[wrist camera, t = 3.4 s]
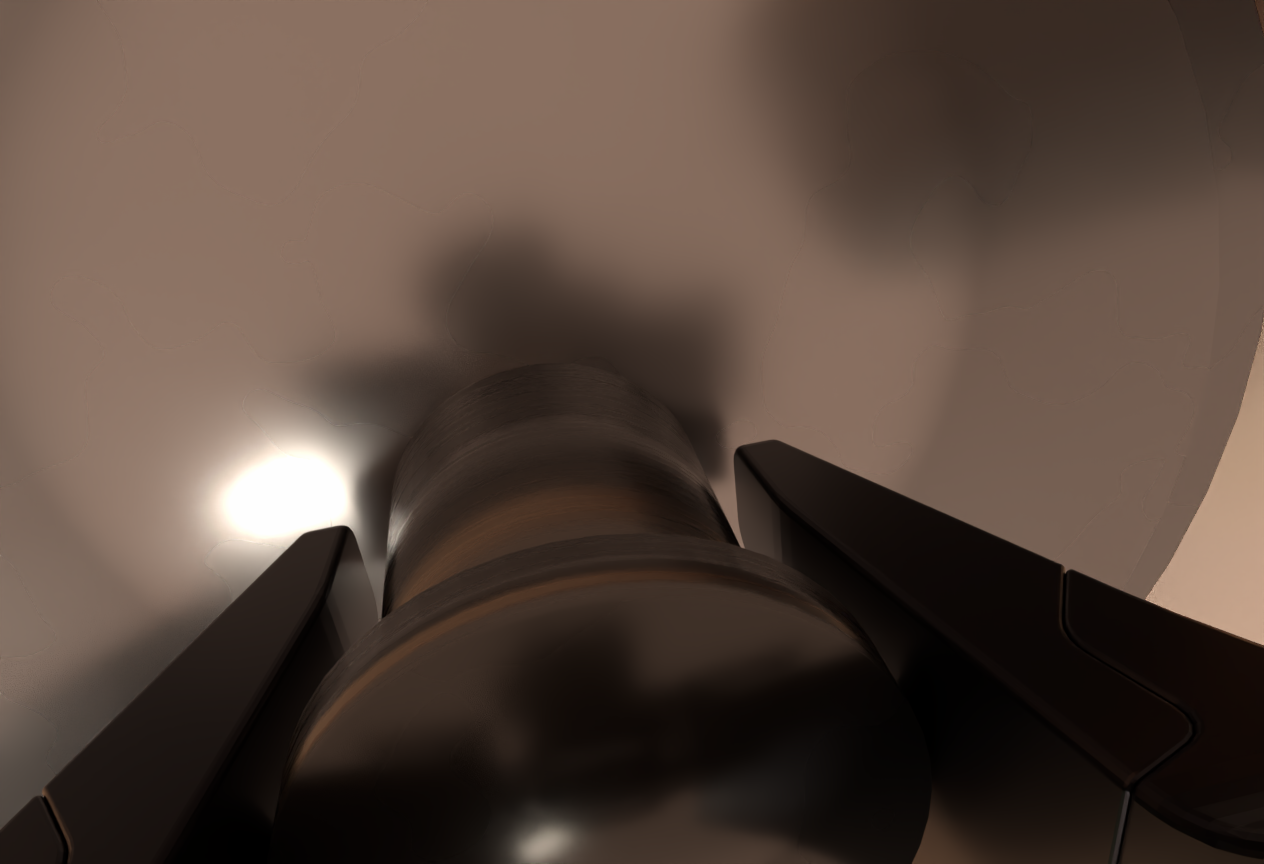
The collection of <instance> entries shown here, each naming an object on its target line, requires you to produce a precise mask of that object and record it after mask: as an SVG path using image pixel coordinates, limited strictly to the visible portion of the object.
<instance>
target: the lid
mask: <svg viewBox="0 0 1264 864" xmlns="http://www.w3.org/2000/svg"><path fill="white" fill-rule="evenodd" d="M1263 316H1264V35H1263V31H1262V28H1261V24H1260V20H1259V16H1258V12H1257V8H1256V4H1255V1H1254V0H0V829H1V828H2V827H3V826H4V825H5V824H6V823H7V822H8V821H9V820H10V819H11V818H12V817H13V816H14V815H15V814H16V813H17V812H18V811H19V810H21V809H22V808H23V807H24V806H25V805H26V804H27V803H28V802H29V801H30V800H31V799H32V798H33V797H34V796H37V795H40V796H43V794H42V790H43V788H44V786H45V785H46V784H47V783H48V782H49V781H50V780H51V779H52V778H53V777H54V776H55V775H57V774H58V773H59V772H60V771H61V770H62V769H63V768H64V767H65V766H66V765H67V764H68V763H69V762H70V761H71V760H72V759H73V758H74V757H75V756H76V755H77V754H78V753H79V752H80V751H81V750H82V749H83V748H84V747H85V746H86V745H87V744H88V743H89V742H90V741H91V740H92V739H93V738H94V737H95V736H96V735H97V734H98V733H99V732H100V731H101V730H103V729H104V728H105V727H106V726H107V725H108V724H109V723H110V722H111V721H112V720H113V719H114V718H115V717H116V716H117V715H118V714H119V713H120V712H121V711H122V710H123V709H124V708H125V707H126V706H127V705H128V704H129V703H130V702H131V701H132V700H133V699H134V698H135V697H136V696H137V695H138V694H139V693H140V692H141V691H142V690H143V689H144V688H145V687H146V686H147V685H149V684H150V683H151V682H152V681H153V680H154V679H155V678H156V677H157V676H158V675H159V674H160V673H161V672H162V671H163V670H164V669H165V668H166V667H167V666H168V665H169V664H170V663H171V662H172V661H173V660H174V659H175V658H176V657H177V656H178V655H179V654H180V653H181V652H182V651H183V650H184V649H185V648H186V647H187V646H188V645H189V644H190V643H191V642H192V641H193V640H194V639H195V638H196V637H197V636H199V635H200V634H201V633H202V632H203V631H204V630H205V629H206V628H207V627H208V626H209V625H210V624H211V623H212V622H213V621H214V620H215V619H216V618H217V617H218V616H219V615H220V614H221V613H222V612H223V611H224V610H225V609H226V608H227V607H228V606H229V605H230V604H231V603H232V602H233V601H234V600H235V599H236V598H237V597H238V596H239V595H240V594H241V593H242V592H243V591H244V590H245V589H246V588H247V587H249V586H250V585H251V584H252V583H253V582H254V581H255V580H256V579H257V578H258V577H259V576H260V575H261V574H262V573H263V572H264V571H265V570H266V569H267V568H268V567H269V566H270V565H271V564H272V563H273V562H274V561H275V560H276V559H277V558H278V557H279V556H280V555H281V554H282V553H283V552H284V551H285V550H286V549H287V548H288V547H289V546H290V545H291V544H292V543H293V542H294V541H295V540H296V539H297V538H299V537H300V536H301V535H302V534H303V533H305V532H308V531H312V530H318V529H323V528H328V527H333V526H338V525H346V526H348V527H349V528H350V529H351V530H352V531H353V533H354V535H355V537H356V540H357V543H358V546H359V549H360V552H361V555H362V558H363V561H364V565H365V568H366V571H367V574H368V577H369V580H370V583H371V586H372V589H373V592H374V596H375V600H376V605H377V611H378V621H379V622H378V623H377V624H376V625H374V626H373V627H372V628H371V629H370V630H369V631H368V632H366V633H365V634H364V635H363V636H362V637H361V638H360V639H358V640H357V641H356V642H355V643H354V644H353V645H352V646H351V647H350V648H349V649H348V650H347V651H346V652H345V653H344V655H343V656H342V657H341V658H340V659H339V660H338V662H337V663H336V664H335V665H334V666H333V667H332V668H331V670H330V671H329V672H328V673H327V674H326V675H325V676H324V678H323V680H322V681H321V683H320V684H319V686H318V687H317V689H316V691H315V692H314V694H313V695H312V697H311V698H310V700H309V701H308V703H307V705H306V706H305V708H304V710H303V712H302V714H301V717H300V719H299V721H298V724H297V726H296V728H295V731H294V733H293V735H292V738H291V740H290V744H289V748H288V752H287V756H286V761H285V765H284V769H283V774H282V779H281V785H280V790H279V795H278V801H277V806H276V812H275V817H274V823H273V828H272V834H271V839H270V845H269V850H268V855H267V864H912V862H913V860H914V858H915V856H916V853H917V851H918V849H919V847H920V844H921V841H922V838H923V834H924V831H925V828H926V824H927V821H928V818H929V810H930V802H931V794H932V778H931V760H930V756H929V752H928V749H927V745H926V741H925V737H924V733H923V731H922V728H921V726H920V724H919V722H918V720H917V718H916V716H915V714H914V712H913V710H912V708H911V705H910V704H909V702H908V700H907V699H906V697H905V695H904V694H903V692H902V690H901V689H900V687H899V685H898V684H897V682H896V681H895V679H894V677H893V676H892V674H891V672H890V671H889V669H888V667H887V666H886V664H885V662H884V661H883V659H882V657H881V656H880V654H879V652H878V651H877V649H876V647H875V646H874V644H873V642H872V641H871V639H870V637H869V636H868V635H867V633H866V632H865V631H864V629H863V628H862V626H861V625H860V624H859V622H858V621H857V620H856V618H855V617H854V616H853V614H852V613H851V612H850V611H849V610H848V609H847V608H846V607H845V606H844V605H843V604H841V603H840V602H839V601H838V600H837V599H836V598H835V597H834V596H833V595H832V594H831V593H830V592H829V591H827V590H826V589H825V588H823V587H822V586H820V585H819V584H817V583H816V582H814V581H813V580H811V579H810V578H808V577H807V576H806V575H804V574H803V573H801V572H800V571H797V570H795V569H793V568H791V567H789V566H787V565H785V564H783V563H781V562H779V561H777V560H775V559H773V558H771V557H768V556H766V555H763V554H760V553H757V552H754V551H751V550H748V549H745V547H744V544H743V541H742V537H741V533H740V529H739V523H738V513H737V501H736V489H735V476H734V463H733V458H734V453H735V450H736V449H737V448H738V447H739V446H742V445H746V444H751V443H756V442H761V441H766V440H772V439H776V440H779V441H782V442H784V443H786V444H789V445H791V446H793V447H795V448H798V449H800V450H802V451H804V452H807V453H809V454H811V455H814V456H816V457H818V458H820V459H823V460H825V461H827V462H830V463H832V464H834V465H836V466H839V467H841V468H843V469H845V470H848V471H850V472H852V473H855V474H857V475H859V476H861V477H864V478H866V479H868V480H870V481H873V482H875V483H877V484H880V485H882V486H884V487H886V488H889V489H891V490H893V491H896V492H898V493H900V494H902V495H905V496H907V497H909V498H911V499H914V500H916V501H918V502H921V503H923V504H925V505H927V506H930V507H932V508H934V509H936V510H939V511H941V512H943V513H946V514H948V515H950V516H952V517H955V518H957V519H959V520H961V521H964V522H966V523H968V524H971V525H973V526H975V527H977V528H980V529H982V530H984V531H987V532H989V533H991V534H993V535H996V536H998V537H1000V538H1002V539H1005V540H1007V541H1009V542H1012V543H1014V544H1016V545H1018V546H1021V547H1023V548H1025V549H1027V550H1030V551H1032V552H1034V553H1037V554H1039V555H1041V556H1043V557H1046V558H1048V559H1050V560H1053V561H1055V562H1057V563H1059V564H1062V565H1063V566H1064V567H1065V574H1066V571H1068V570H1070V569H1073V570H1076V571H1078V572H1080V573H1083V574H1085V575H1087V576H1090V577H1092V578H1094V579H1096V580H1099V581H1101V582H1103V583H1105V584H1108V585H1110V586H1112V587H1115V588H1117V589H1119V590H1122V591H1124V592H1127V593H1129V594H1131V595H1134V596H1136V597H1139V598H1141V599H1144V600H1145V599H1146V597H1147V596H1148V594H1149V593H1150V591H1151V590H1152V588H1153V587H1154V585H1155V584H1156V582H1157V581H1158V579H1159V578H1160V576H1161V575H1162V573H1163V572H1164V570H1165V569H1166V567H1167V566H1168V564H1169V563H1170V561H1171V559H1172V557H1173V555H1174V553H1175V551H1176V549H1177V548H1178V546H1179V544H1180V542H1181V540H1182V538H1183V536H1184V534H1185V533H1186V531H1187V529H1188V527H1189V525H1190V523H1191V521H1192V519H1193V518H1194V516H1195V514H1196V512H1197V510H1198V508H1199V506H1200V504H1201V503H1202V501H1203V499H1204V497H1205V495H1206V493H1207V491H1208V488H1209V486H1210V483H1211V481H1212V478H1213V476H1214V474H1215V471H1216V469H1217V466H1218V464H1219V461H1220V459H1221V456H1222V454H1223V451H1224V449H1225V446H1226V444H1227V441H1228V439H1229V436H1230V434H1231V431H1232V429H1233V426H1234V424H1235V421H1236V419H1237V416H1238V413H1239V410H1240V406H1241V403H1242V399H1243V395H1244V392H1245V388H1246V384H1247V381H1248V377H1249V373H1250V370H1251V366H1252V363H1253V359H1254V355H1255V352H1256V348H1257V344H1258V341H1259V337H1260V333H1261V329H1262V323H1263ZM43 797H44V796H43Z"/></svg>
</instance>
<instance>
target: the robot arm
mask: <svg viewBox="0 0 1264 864" xmlns="http://www.w3.org/2000/svg"><path fill="white" fill-rule="evenodd" d="M733 463H734V476H735V489H736V501H737V513H738V523H739V529H740V533H741V537H742V541H743V544H744V547H745V549H748V550H751V551H754V552H757V553H760V554H763V555H766V556H768V557H771V558H773V559H775V560H777V561H779V562H781V563H783V564H785V565H787V566H789V567H791V568H793V569H795V570H797V571H800V572H801V573H803V574H804V575H806V576H807V577H808V578H810V579H811V580H813V581H814V582H816V583H817V584H819V585H820V586H822V587H823V588H825V589H826V590H827V591H829V592H830V593H831V594H832V595H833V596H834V597H835V598H836V599H837V600H838V601H839V602H840V603H841V604H843V605H844V606H845V607H846V608H847V609H848V610H849V611H850V612H851V613H852V614H853V616H854V617H855V618H856V620H857V621H858V622H859V624H860V625H861V626H862V628H863V629H864V631H865V632H866V633H867V635H868V636H869V637H870V639H871V641H872V642H873V644H874V646H875V647H876V649H877V651H878V652H879V654H880V656H881V657H882V659H883V661H884V662H885V664H886V666H887V667H888V669H889V671H890V672H891V674H892V676H893V677H894V679H895V681H896V682H897V684H898V685H899V687H900V689H901V690H902V692H903V694H904V695H905V697H906V699H907V700H908V702H909V704H910V705H911V708H912V710H913V712H914V714H915V716H916V718H917V720H918V722H919V724H920V726H921V728H922V731H923V733H924V737H925V741H926V745H927V749H928V752H929V756H930V760H931V778H932V794H931V802H930V810H929V818H928V821H927V824H926V828H925V831H924V834H923V838H922V841H921V844H920V847H919V849H918V851H917V853H916V856H915V858H914V860H913V862H912V864H1264V645H1261V644H1258V643H1255V642H1252V641H1250V640H1247V639H1244V638H1242V637H1239V636H1236V635H1234V634H1231V633H1228V632H1226V631H1223V630H1220V629H1218V628H1215V627H1212V626H1210V625H1207V624H1204V623H1201V622H1199V621H1196V620H1193V619H1191V618H1188V617H1185V616H1183V615H1180V614H1177V613H1175V612H1172V611H1170V610H1168V609H1165V608H1163V607H1160V606H1158V605H1156V604H1153V603H1151V602H1148V601H1146V600H1144V599H1141V598H1139V597H1136V596H1134V595H1131V594H1129V593H1127V592H1124V591H1122V590H1119V589H1117V588H1115V587H1112V586H1110V585H1108V584H1105V583H1103V582H1101V581H1099V580H1096V579H1094V578H1092V577H1090V576H1087V575H1085V574H1083V573H1080V572H1078V571H1076V570H1073V569H1070V570H1068V571H1066V574H1065V567H1064V566H1063V565H1062V564H1059V563H1057V562H1055V561H1053V560H1050V559H1048V558H1046V557H1043V556H1041V555H1039V554H1037V553H1034V552H1032V551H1030V550H1027V549H1025V548H1023V547H1021V546H1018V545H1016V544H1014V543H1012V542H1009V541H1007V540H1005V539H1002V538H1000V537H998V536H996V535H993V534H991V533H989V532H987V531H984V530H982V529H980V528H977V527H975V526H973V525H971V524H968V523H966V522H964V521H961V520H959V519H957V518H955V517H952V516H950V515H948V514H946V513H943V512H941V511H939V510H936V509H934V508H932V507H930V506H927V505H925V504H923V503H921V502H918V501H916V500H914V499H911V498H909V497H907V496H905V495H902V494H900V493H898V492H896V491H893V490H891V489H889V488H886V487H884V486H882V485H880V484H877V483H875V482H873V481H870V480H868V479H866V478H864V477H861V476H859V475H857V474H855V473H852V472H850V471H848V470H845V469H843V468H841V467H839V466H836V465H834V464H832V463H830V462H827V461H825V460H823V459H820V458H818V457H816V456H814V455H811V454H809V453H807V452H804V451H802V450H800V449H798V448H795V447H793V446H791V445H789V444H786V443H784V442H782V441H779V440H776V439H772V440H766V441H761V442H756V443H751V444H746V445H742V446H739V447H738V448H737V449H736V450H735V453H734V458H733ZM378 622H379V621H378V611H377V605H376V600H375V596H374V592H373V589H372V586H371V583H370V580H369V577H368V574H367V571H366V568H365V565H364V561H363V558H362V555H361V552H360V549H359V546H358V543H357V540H356V537H355V535H354V533H353V531H352V530H351V529H350V528H349V527H348V526H346V525H338V526H333V527H328V528H323V529H318V530H312V531H308V532H305V533H303V534H302V535H301V536H300V537H299V538H297V539H296V540H295V541H294V542H293V543H292V544H291V545H290V546H289V547H288V548H287V549H286V550H285V551H284V552H283V553H282V554H281V555H280V556H279V557H278V558H277V559H276V560H275V561H274V562H273V563H272V564H271V565H270V566H269V567H268V568H267V569H266V570H265V571H264V572H263V573H262V574H261V575H260V576H259V577H258V578H257V579H256V580H255V581H254V582H253V583H252V584H251V585H250V586H249V587H247V588H246V589H245V590H244V591H243V592H242V593H241V594H240V595H239V596H238V597H237V598H236V599H235V600H234V601H233V602H232V603H231V604H230V605H229V606H228V607H227V608H226V609H225V610H224V611H223V612H222V613H221V614H220V615H219V616H218V617H217V618H216V619H215V620H214V621H213V622H212V623H211V624H210V625H209V626H208V627H207V628H206V629H205V630H204V631H203V632H202V633H201V634H200V635H199V636H197V637H196V638H195V639H194V640H193V641H192V642H191V643H190V644H189V645H188V646H187V647H186V648H185V649H184V650H183V651H182V652H181V653H180V654H179V655H178V656H177V657H176V658H175V659H174V660H173V661H172V662H171V663H170V664H169V665H168V666H167V667H166V668H165V669H164V670H163V671H162V672H161V673H160V674H159V675H158V676H157V677H156V678H155V679H154V680H153V681H152V682H151V683H150V684H149V685H147V686H146V687H145V688H144V689H143V690H142V691H141V692H140V693H139V694H138V695H137V696H136V697H135V698H134V699H133V700H132V701H131V702H130V703H129V704H128V705H127V706H126V707H125V708H124V709H123V710H122V711H121V712H120V713H119V714H118V715H117V716H116V717H115V718H114V719H113V720H112V721H111V722H110V723H109V724H108V725H107V726H106V727H105V728H104V729H103V730H101V731H100V732H99V733H98V734H97V735H96V736H95V737H94V738H93V739H92V740H91V741H90V742H89V743H88V744H87V745H86V746H85V747H84V748H83V749H82V750H81V751H80V752H79V753H78V754H77V755H76V756H75V757H74V758H73V759H72V760H71V761H70V762H69V763H68V764H67V765H66V766H65V767H64V768H63V769H62V770H61V771H60V772H59V773H58V774H57V775H55V776H54V777H53V778H52V779H51V780H50V781H49V782H48V783H47V784H46V785H45V786H44V788H43V790H42V794H43V796H44V797H43V796H40V795H37V796H34V797H33V798H32V799H31V800H30V801H29V802H28V803H27V804H26V805H25V806H24V807H23V808H22V809H21V810H19V811H18V812H17V813H16V814H15V815H14V816H13V817H12V818H11V819H10V820H9V821H8V822H7V823H6V824H5V825H4V826H3V827H2V828H1V829H0V864H267V855H268V850H269V845H270V839H271V834H272V828H273V823H274V817H275V812H276V806H277V801H278V795H279V790H280V785H281V779H282V774H283V769H284V765H285V761H286V756H287V752H288V748H289V744H290V740H291V738H292V735H293V733H294V731H295V728H296V726H297V724H298V721H299V719H300V717H301V714H302V712H303V710H304V708H305V706H306V705H307V703H308V701H309V700H310V698H311V697H312V695H313V694H314V692H315V691H316V689H317V687H318V686H319V684H320V683H321V681H322V680H323V678H324V676H325V675H326V674H327V673H328V672H329V671H330V670H331V668H332V667H333V666H334V665H335V664H336V663H337V662H338V660H339V659H340V658H341V657H342V656H343V655H344V653H345V652H346V651H347V650H348V649H349V648H350V647H351V646H352V645H353V644H354V643H355V642H356V641H357V640H358V639H360V638H361V637H362V636H363V635H364V634H365V633H366V632H368V631H369V630H370V629H371V628H372V627H373V626H374V625H376V624H377V623H378Z"/></svg>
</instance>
